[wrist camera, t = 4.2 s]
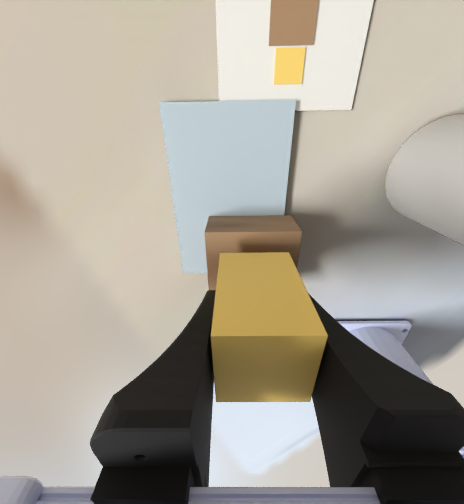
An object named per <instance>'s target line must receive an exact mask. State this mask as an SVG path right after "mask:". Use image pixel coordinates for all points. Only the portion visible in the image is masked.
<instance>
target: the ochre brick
mask: <svg viewBox="0 0 464 504" xmlns="http://www.w3.org/2000/svg"><path fill="white" fill-rule="evenodd" d="M327 337H328V335H327V333H326V331H325V328H324V326H323V324H322V322H321V320H320V318H319V316H318V313H317V311H316V309H315V307H314V305H313V303H312V301H311V298H310V296H309V294H308V292H307V290H306V288H305V286H304V283H303V281H302V279H301V277H300V275H299V273H298V271H297V268H296V266H295V264H294V262H293V260H292V258H291V256H290V254H289V252H268V253H220V257H219V266H218V275H217V284H216V293H215V302H214V311H213V320H212V329H211V346H212V358H213V370H214V382H215V394H216V402H310V400H311V396H312V392H313V389H314V385H315V381H316V378H317V374H318V370H319V366H320V363H321V359H322V355H323V352H324V348H325V344H326V341H327Z"/></svg>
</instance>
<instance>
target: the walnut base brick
mask: <svg viewBox="0 0 464 504" xmlns="http://www.w3.org/2000/svg"><path fill="white" fill-rule="evenodd" d="M204 234H205V247H206V260H207V272H208V285H209V290H216V284H217V275H218V266H219V257H220V253H268V252H289V254H290V256H291V258H292V260H293V262H294V264H295V266H296V268H297V263H298V256H299V250H300V243H301V236H302V230H301V229H300V228H299V226H298V225H297V223H296V222H295V220H294V219H293V217H292V216H291V215H270V216H209V218H208V222H207V225H206V229H205V232H204Z"/></svg>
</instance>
